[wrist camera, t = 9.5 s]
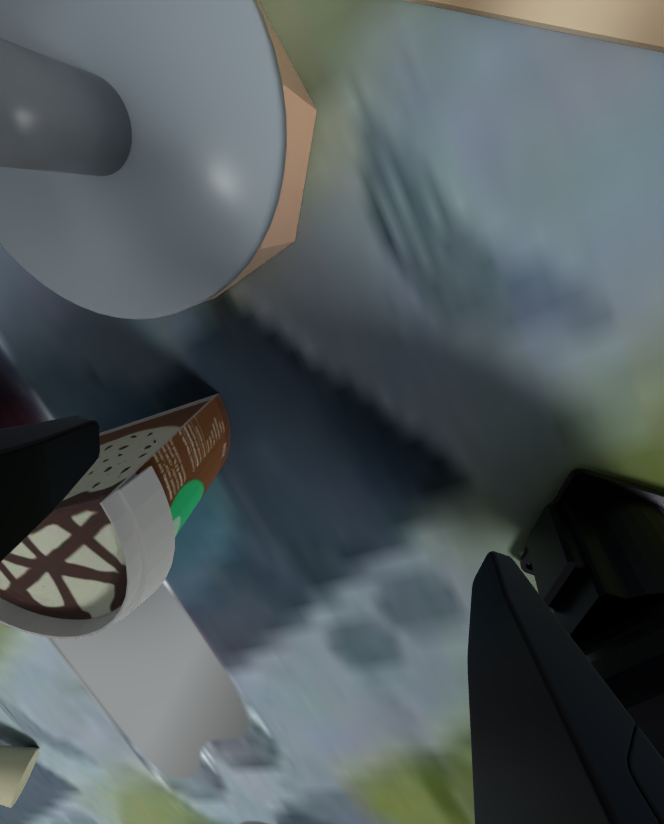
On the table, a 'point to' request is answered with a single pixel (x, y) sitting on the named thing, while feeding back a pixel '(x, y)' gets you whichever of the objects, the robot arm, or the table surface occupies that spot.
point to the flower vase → (15, 771)
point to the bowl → (287, 161)
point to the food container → (115, 524)
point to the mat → (576, 17)
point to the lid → (138, 147)
